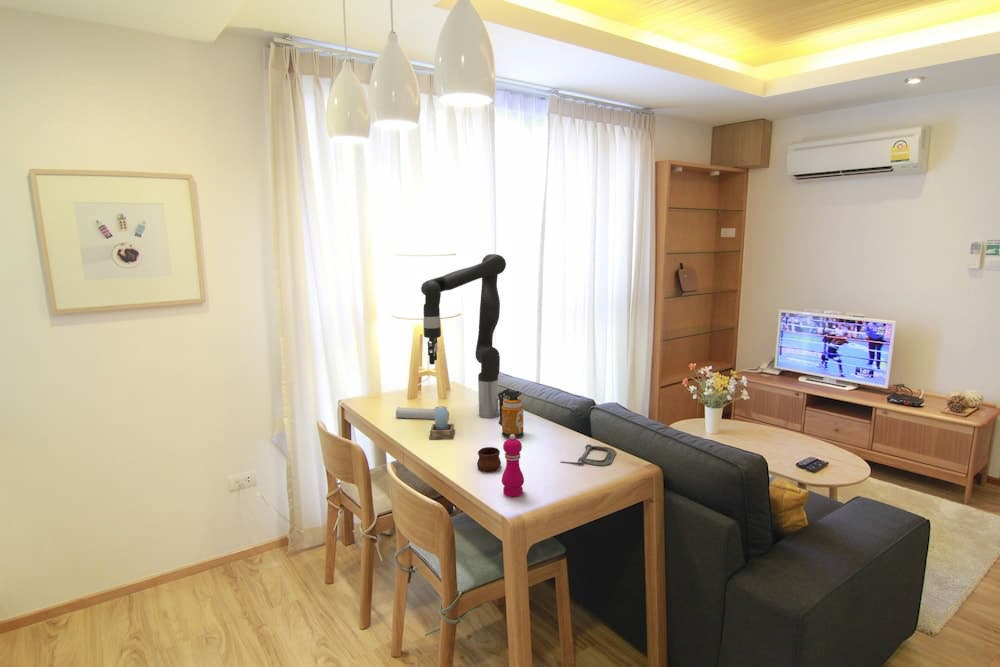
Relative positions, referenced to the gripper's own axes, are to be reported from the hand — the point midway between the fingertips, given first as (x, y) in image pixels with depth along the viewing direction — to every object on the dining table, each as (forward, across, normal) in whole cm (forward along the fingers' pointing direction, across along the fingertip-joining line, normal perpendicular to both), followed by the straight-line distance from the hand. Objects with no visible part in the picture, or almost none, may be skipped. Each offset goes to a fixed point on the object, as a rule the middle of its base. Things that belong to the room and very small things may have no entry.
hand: (433, 362), depth 245 cm
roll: (+27, -17, -5) cm, 32 cm away
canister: (+28, -18, -34) cm, 48 cm away
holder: (+28, -17, -5) cm, 33 cm away
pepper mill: (+28, -72, -34) cm, 85 cm away
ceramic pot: (+29, -52, -26) cm, 64 cm away
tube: (+29, +7, +6) cm, 30 cm away
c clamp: (+29, -42, -64) cm, 82 cm away
